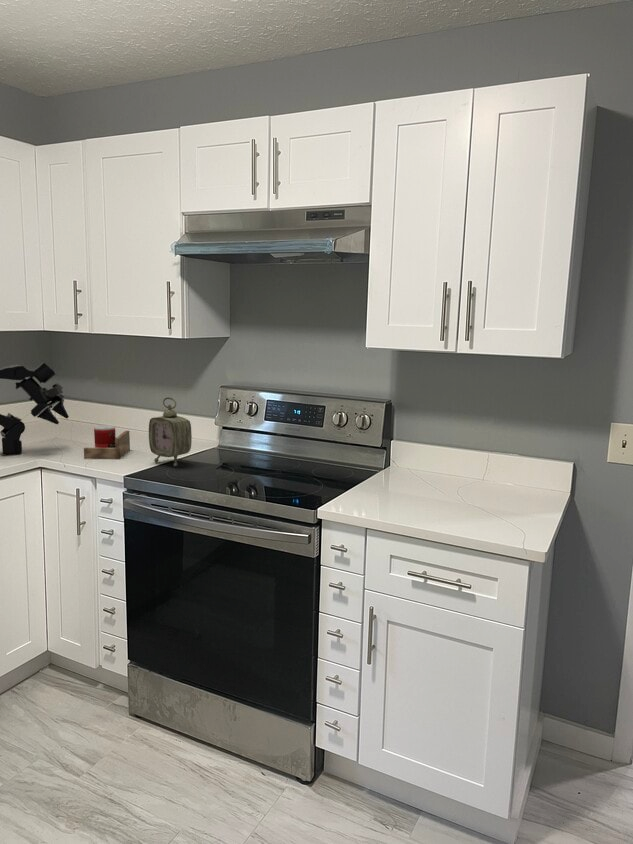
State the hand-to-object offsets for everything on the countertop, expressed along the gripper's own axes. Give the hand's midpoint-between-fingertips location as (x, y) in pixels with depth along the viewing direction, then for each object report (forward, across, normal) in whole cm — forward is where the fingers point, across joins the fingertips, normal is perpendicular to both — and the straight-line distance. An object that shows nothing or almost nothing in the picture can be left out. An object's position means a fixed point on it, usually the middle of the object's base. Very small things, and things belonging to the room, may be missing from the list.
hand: (63, 420), depth 255 cm
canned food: (+21, -4, -6) cm, 22 cm away
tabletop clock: (+40, -17, -28) cm, 52 cm away
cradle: (+21, -4, -6) cm, 22 cm away
